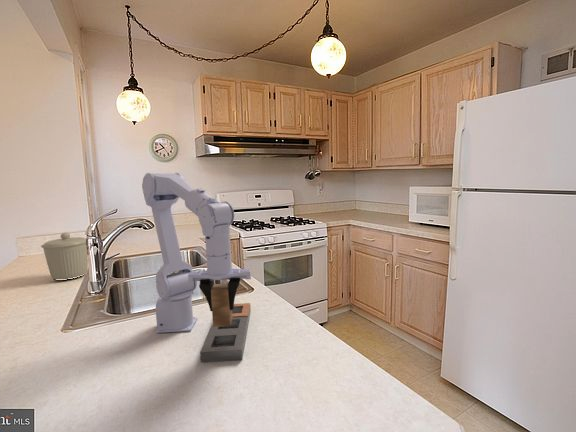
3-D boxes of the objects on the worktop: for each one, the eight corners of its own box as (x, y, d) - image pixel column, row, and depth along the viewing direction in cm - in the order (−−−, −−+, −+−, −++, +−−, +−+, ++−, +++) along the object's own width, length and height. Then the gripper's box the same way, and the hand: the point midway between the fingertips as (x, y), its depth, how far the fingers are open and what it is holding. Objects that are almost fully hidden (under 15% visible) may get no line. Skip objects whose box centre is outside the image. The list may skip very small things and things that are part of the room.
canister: (75, 283, 134) (70, 235, 132) (34, 284, 134) (28, 237, 132) (101, 271, 152) (97, 229, 150) (65, 272, 152) (60, 230, 150)
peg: (213, 327, 73) (210, 290, 72) (216, 319, 77) (214, 284, 76) (230, 326, 73) (228, 289, 72) (232, 318, 77) (230, 283, 76)
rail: (200, 362, 70) (200, 351, 70) (220, 312, 97) (220, 304, 97) (242, 359, 71) (241, 348, 71) (250, 311, 98) (250, 303, 97)
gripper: (182, 259, 69) (187, 317, 70) (248, 256, 69) (251, 314, 71) (191, 252, 76) (195, 305, 77) (250, 249, 76) (253, 302, 78)
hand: (222, 308), depth 74 cm, fingers closed on peg, 4 cm apart
